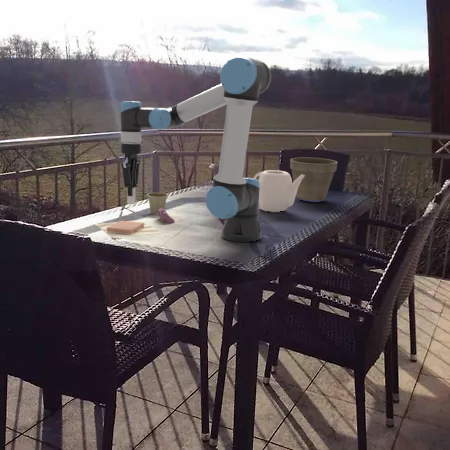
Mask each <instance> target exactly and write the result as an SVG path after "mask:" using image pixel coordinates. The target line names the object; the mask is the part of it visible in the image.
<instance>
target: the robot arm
mask: <svg viewBox="0 0 450 450" xmlns="http://www.w3.org/2000/svg"><path fill="white" fill-rule="evenodd" d="M219 81H220V83H219V84H217V85H216V86H213V87H211V88H209V89H207V90H204V91H203V92H201V93H199V94H196V95H194V96H192V97H190V98H188V99H185V100H184V101H181V102H179V103H178V104H177V103H176V104H175V105H173V106H170V107H145V106H144V107H143V106H142V102H141V101H136V100H135V101H130V100H124V101H121V104H120V126H121V127H120V133H119V134H120V141H121V144H120V153H122V154H124V160H123V161H124V162H121V163H120V165H121V168H122V176H123V183H124V185H123V186H124V188H126V198H127V199H126V201H127V203H126V205H128V204H129V205H135V204H136V188H138V184H139V183H138V182H139V176H140V164H141V159H138V158H139V157H138V155H140V154H141V153H142V144H141V143H142V129H153V130H166V129H177V128H181V127H183V126H184V125H185V124H186V123H187V122H190V121H192V120H195V119H196V118H198V117H201V116H203V115H206V114H207V113H210V112H212V111H215V110H217V109H219V108H222V107H224V106H226V108H225V109H226V111H225V118H224V126H223V133H222V141H221V142H222V143H221V151H220V157H219V167H218V173H217V174H215V175H214V176H213V180H212V186H211V188H210V189H208V191H207V193H206V194H205V205H206V208H207V210H208V211H209V213H210V214H211V215H212V216H214V218H215V217H216V218H218V219H222V220H225V219H226V220H225V222H224V225H223V227H222V230H221V237H222V238H223V239H225V240H227V241H230V242H231V241H232V242H239V243H251V242H250V241H253V242H256V240H258V241H260V240H261V239H262V230H261V226H260V221H259V207H260V206H259V191H260V183H259V179H257V178H256V179H253V178H254V177H244V171H245V170H244V169H245V165H246V164H245V163H246V157H247V148H248V142H249V134H250V126H251V120H252V113H253V107H254V106H255V105H256V104H257V103H258V102H259V97H260V96H259V95H260V94H262V93H264V92H265V91H266V90H268V88H269V86H270V84H271V81H272V73H271V70H270V68H269V66H268V65H267V64H266V62H264V61H263V60H260V59H255V58H251V57H247V56H235V57H232V58H230V59H229V60H227V61H226V62H225V63H224V64H223V66H222V68H221V70H220V75H219ZM259 239H260V240H259Z"/></svg>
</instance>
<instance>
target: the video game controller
mask: <svg viewBox="0 0 450 450" xmlns="http://www.w3.org/2000/svg"><path fill="white" fill-rule="evenodd" d="M156 216H157V217H159V218H160V220H161V221H162V222H163V223H167V224H174V223H175V220H174V218H173V217H172V216H170V215H169V213H168V212H167V211H166V208H165V209H162V208H161V209H158V210H157V215H156Z"/></svg>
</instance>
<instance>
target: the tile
mask: <svg viewBox="0 0 450 450" xmlns="http://www.w3.org/2000/svg"><path fill="white" fill-rule="evenodd" d="M128 221H129V220H128ZM128 221H127V220H119V221H116V222H117V223H115V224H113V225H111V226H109V227H107V232H115V233H124V234H133V233H135V232H136V231H138V230H140V229H141V228H143V227H144V223H145V222H144V223H138V222H128Z"/></svg>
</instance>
